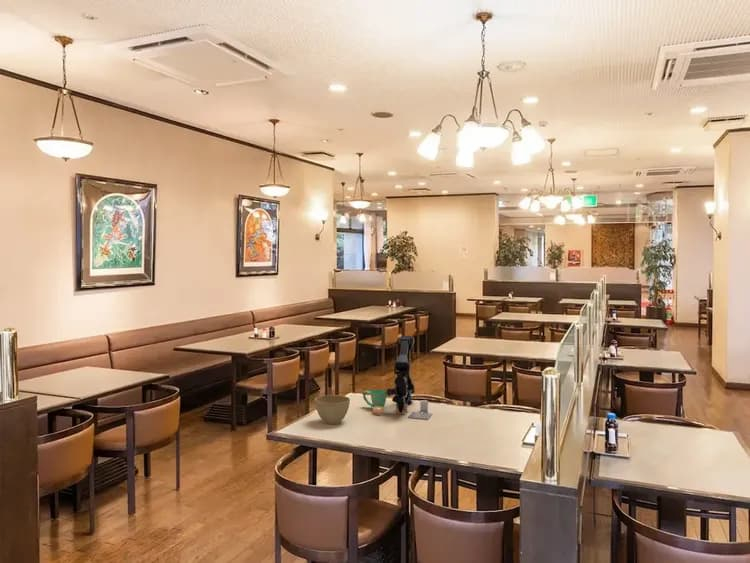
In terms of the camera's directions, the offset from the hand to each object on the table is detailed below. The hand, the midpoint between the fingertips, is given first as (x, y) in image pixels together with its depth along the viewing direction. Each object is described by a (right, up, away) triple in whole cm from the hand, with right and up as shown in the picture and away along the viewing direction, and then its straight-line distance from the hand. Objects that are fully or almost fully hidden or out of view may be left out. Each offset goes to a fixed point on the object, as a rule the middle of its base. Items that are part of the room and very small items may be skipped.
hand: (401, 411), depth 313 cm
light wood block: (+13, -1, +4) cm, 13 cm away
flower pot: (-37, -2, -18) cm, 41 cm away
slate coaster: (+10, -1, -6) cm, 11 cm away
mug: (-15, -1, +10) cm, 18 cm away
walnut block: (0, -1, 0) cm, 1 cm away
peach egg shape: (-13, -1, -1) cm, 13 cm away
